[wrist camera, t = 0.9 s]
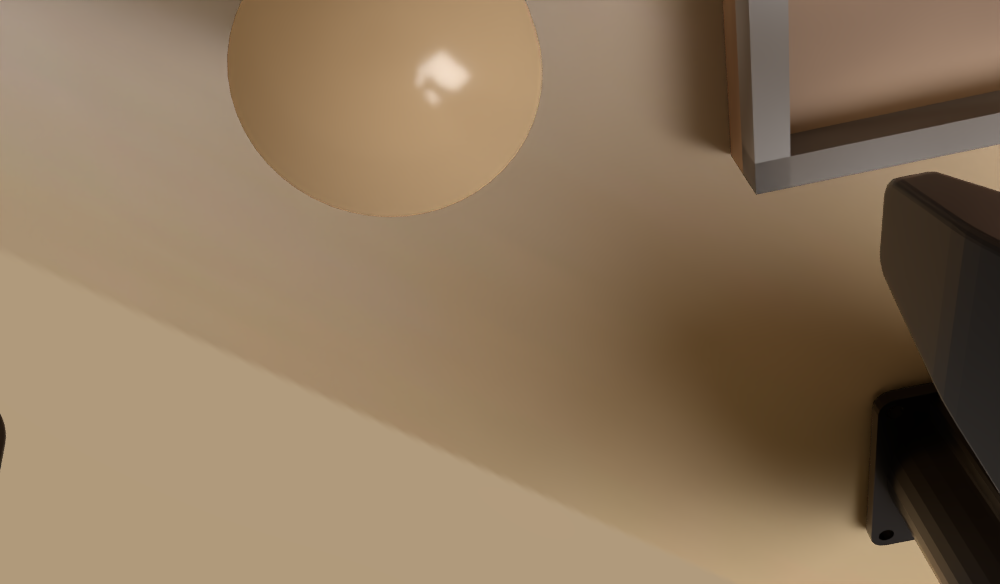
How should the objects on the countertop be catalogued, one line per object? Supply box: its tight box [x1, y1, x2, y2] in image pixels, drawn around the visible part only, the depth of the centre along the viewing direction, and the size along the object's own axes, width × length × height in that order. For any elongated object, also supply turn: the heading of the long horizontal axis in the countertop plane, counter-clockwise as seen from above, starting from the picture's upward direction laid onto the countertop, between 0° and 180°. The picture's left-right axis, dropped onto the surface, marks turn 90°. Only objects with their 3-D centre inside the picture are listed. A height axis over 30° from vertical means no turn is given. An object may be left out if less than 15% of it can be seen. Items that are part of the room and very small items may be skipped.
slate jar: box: [227, 0, 542, 217], centre depth 18 cm, size 5×5×6 cm
